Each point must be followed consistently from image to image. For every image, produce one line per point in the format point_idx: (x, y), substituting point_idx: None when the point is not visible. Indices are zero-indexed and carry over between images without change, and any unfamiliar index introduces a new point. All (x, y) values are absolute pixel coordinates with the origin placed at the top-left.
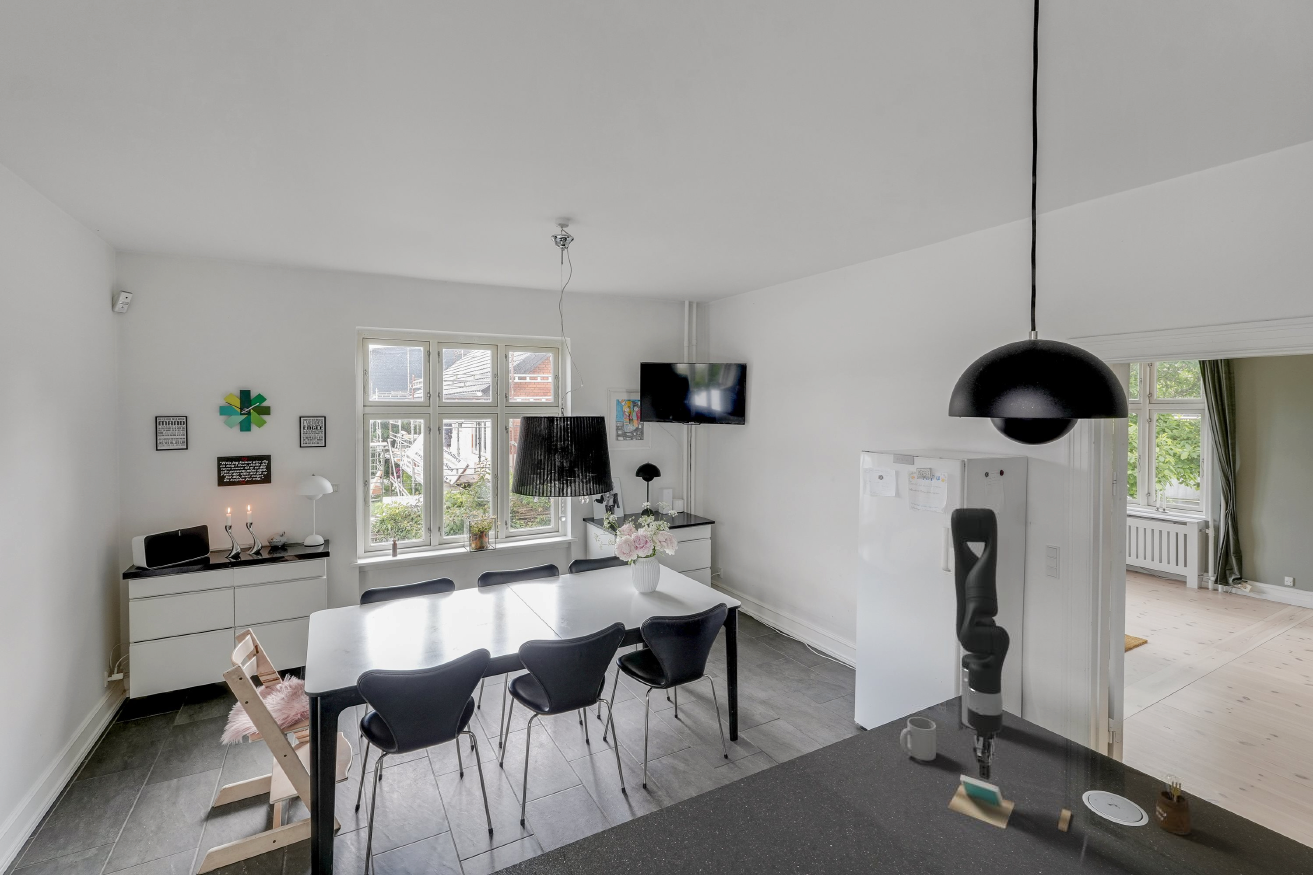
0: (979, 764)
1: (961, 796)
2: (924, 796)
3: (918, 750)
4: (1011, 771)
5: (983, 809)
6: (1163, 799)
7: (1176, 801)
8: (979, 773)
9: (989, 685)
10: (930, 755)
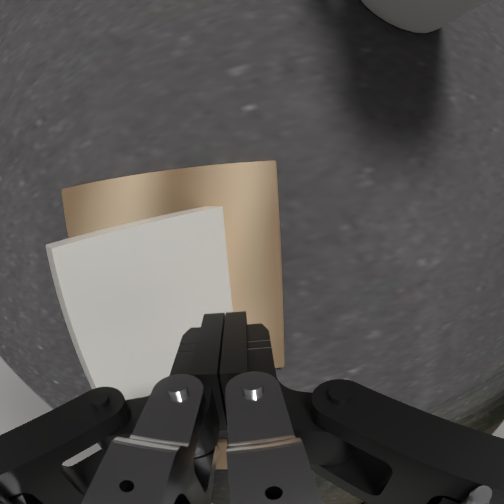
0: (193, 360)
1: (172, 198)
2: (88, 87)
3: None
4: (480, 285)
5: None
6: None
7: None
8: (202, 320)
9: None
10: (388, 7)
